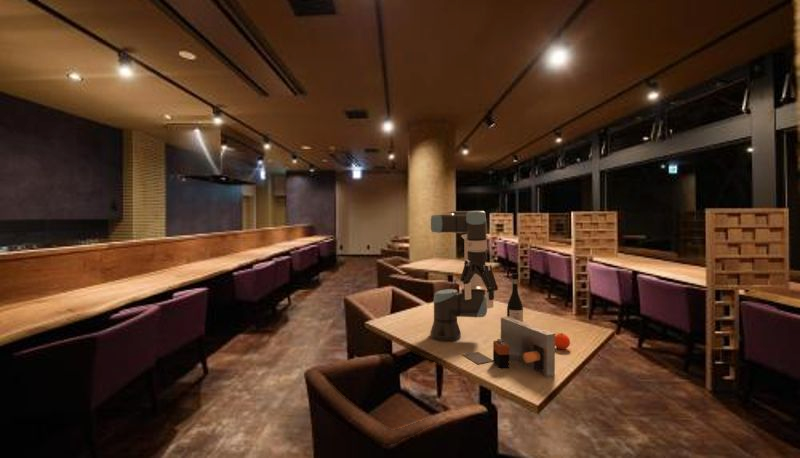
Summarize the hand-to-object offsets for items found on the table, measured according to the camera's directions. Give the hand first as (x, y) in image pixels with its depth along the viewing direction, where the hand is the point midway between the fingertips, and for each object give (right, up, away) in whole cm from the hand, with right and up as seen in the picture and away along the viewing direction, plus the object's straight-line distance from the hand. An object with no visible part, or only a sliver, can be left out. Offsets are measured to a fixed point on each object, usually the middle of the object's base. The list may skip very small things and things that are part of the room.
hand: (478, 303), depth 144 cm
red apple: (+42, -25, +21) cm, 53 cm away
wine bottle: (+30, -24, +48) cm, 62 cm away
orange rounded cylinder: (+19, -21, -7) cm, 28 cm away
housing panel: (+20, -25, +3) cm, 32 cm away
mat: (+2, -25, +10) cm, 27 cm away
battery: (+10, -26, +2) cm, 28 cm away
